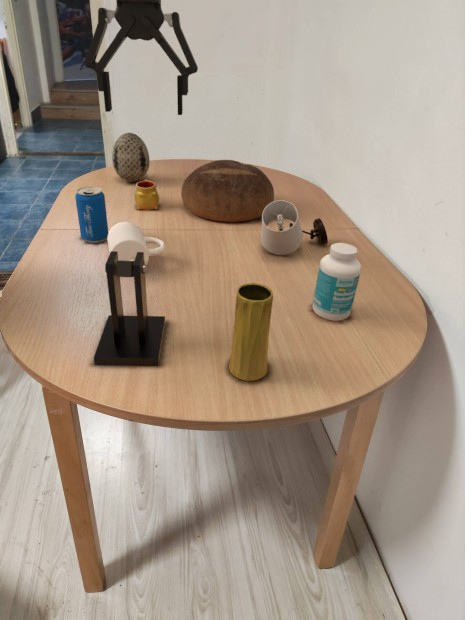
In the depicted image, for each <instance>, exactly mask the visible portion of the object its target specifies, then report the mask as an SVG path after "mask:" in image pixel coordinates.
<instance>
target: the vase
mask: <svg viewBox="0 0 465 620" xmlns="http://www.w3.org/2000/svg"><path fill="white" fill-rule="evenodd" d="M273 301H274V292H273V290H272V288H270V287H269V286H267V285H265V284H263V283H257V282H248V283H244V284H241V285H239V286H238V287H237V289H236V298H235V307H234V308H235V309H234V321H233V334H232V341H231V350H230V360H229V364H228V370H229V371H230V374H231V375H233V376H234V377H235V378H237V379H239V380H242V381H245V382H246V381H247V382H250V381H252V382H253V381H258V380H260V379H262V378H264V377H265V376H266V374H267V372H268V360H269V358H268V357H269V339H270V326H271V319H272V311H273V310H272V309H273V303H274V302H273Z"/></svg>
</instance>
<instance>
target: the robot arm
mask: <svg viewBox="0 0 465 620" xmlns="http://www.w3.org/2000/svg"><path fill="white" fill-rule="evenodd" d="M115 1H116V2H115V3H116V5H115V6H116V7H115V10H112V9H108V8H106V7H99V8H98V9H97V24H96V27H95V30H94V33H93V35H92V36H93V37H92V39H91V42H90V45H89V48H88V51H87V54H86V56H85V60H84V66H85V67H86V68H87V69H91V70H93V71H94V73H95V74H96V75H95V78H96V86H97V90H98V92H103V99H104V112H105V113H110V112H111V111H113V104H112V92H111V91H112V90H111V82H110V71H105V69H106V67H107V66H108V65H109V63H110V62H111V60H112V59H113V58H114V56H115V55H116V53H117V52H118V50H119V49H120V48H121V46H122V44H123V43H124V42H125V41H126V39H127V38H128V39H130V40H131V41H132V40H133V41H137V40H143V41H152V40H153V39H154V41H155V42H156V43H157V44H158V45H159V47H160V48H161V49H162V50H163V52H164V54H166V56H167V57H168V59H169V60H170V62H172V65H173V66H174V67H175V68H176V69H177V71H178V72H179V73H180V74H178V75H177V77H176V89H177V91H176V92H177V94H176V95H177V96H176V97H177V116H183V113H184V112H183V111H184V110H183V96H188V93H189V76H190V75H193V74H196V73H197V72H198V69H199V66H198V64H197V62H196V60H195V57H194V55H193V53H192V50H191V48H190V45H189V43H188V41H187V38H186V36H185V34H184V31H183V29H182V27H181V17H180V13H179V12H178V11H173V12H170V13H164V12H163V9H162V0H115ZM113 19H115V21H116V22H117V24H118V25H119V26H120V29H119V30H118V32H117V33H116V35H115V36H114V38H113V40H112V41H111V42H110V44H109V46H108V47H107V48H106V50H105V51H104V53H103V55H102V56H101V57H100V59H99V60H98V61H96V60H97V58H98V54H99V52H100V50H101V45H102V44H103V40H104V37H105V34H106V31H107V29H108V25H110V24H111V23H112V21H113ZM165 22H166V23H167V25H168V26H169V27H170V28H172V29H173V32H174V35H175V36H176V39H177V42H178V44H179V47H180V49H181V51H182V53H183V55H184V57H185V59H186V62H187V65H188V66H186V65H185V64H184V62H183V61H182V59H181V58H180V56H179V55H178V54H177V52H175V50H174V49H173V48H172V46H171V45H170V43H169V42H168V41H167V39H166V38H165V36H164V35H163V33H162V32H161V30H160V29H161V27H162V26H163V24H164V23H165Z"/></svg>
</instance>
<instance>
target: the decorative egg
mask: <svg viewBox="0 0 465 620" xmlns="http://www.w3.org/2000/svg"><path fill="white" fill-rule="evenodd" d="M111 161H112V166H113V169H114V171H115V173H116V174H117V175H118V177H120V178H121V179H122V180H124V181H126V182H130V183H135V182H139V181H141V180H142V179H143V178H145V176H146V175H147V173H148V172H149V168H150V154H149V150H148V147H147V145H146V143H145V142H144V140H143V139H142V137H140V136H139V135H137V134H135V133H133V132H125V133H123V134H121V135H119V137H118V138H117V139H116V140H115V142H114V144H113V148H112V152H111Z"/></svg>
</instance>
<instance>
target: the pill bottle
mask: <svg viewBox="0 0 465 620" xmlns="http://www.w3.org/2000/svg"><path fill="white" fill-rule="evenodd" d="M357 254H358V249H357V247H356V246H354V245H352V244H350V243H347V242H346V243H345V242H336V243H332V244H331V246H330V249H329V253H328V254H326V255H324V256H323V257H322V258H321V260H320V262H319V265H318V266H319V267H318V272H317V278H316V283H315V284H316V285H315V288H314V293H313V300H312V305H311V307H312V311H313V312H314V313H315V314H316V315H317V316H318V317H320V318H322V319H324V320H328V321H334V322H336V321H338V322H339V321H343V320H346V319H348V318H349V317H350V315H351V313H352V309H353V307H354V306H353V305H354V301H355V297H356V293H357V288H358V286H359V285H358V284H359V281H360V276H361V272H362V265H361V263H360V261H359V260H358V259H357V256H358V255H357Z"/></svg>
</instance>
